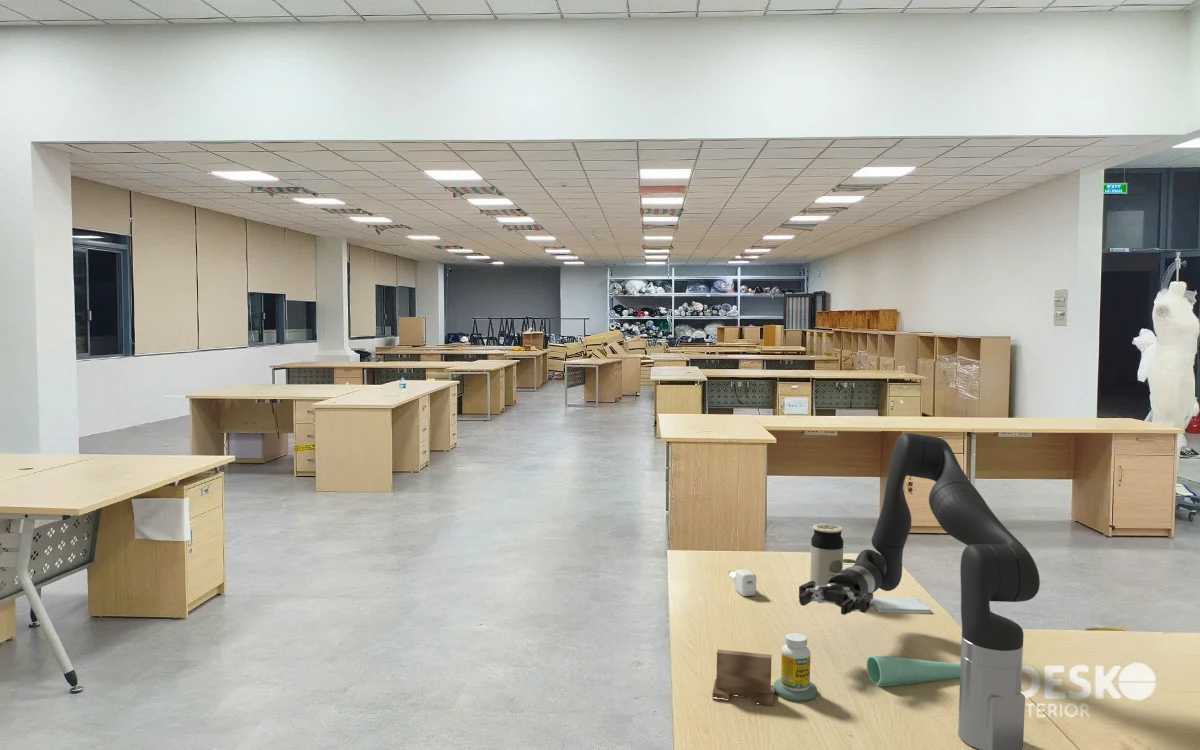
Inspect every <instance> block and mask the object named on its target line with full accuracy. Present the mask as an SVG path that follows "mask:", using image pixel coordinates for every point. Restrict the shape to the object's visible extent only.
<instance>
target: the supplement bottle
mask: <svg viewBox="0 0 1200 750" xmlns="http://www.w3.org/2000/svg"><path fill="white" fill-rule="evenodd" d="M784 642H785V645H783V646H782V648H781V657H780V659H781V660H780V661H781V662H780V663H781V664H780V665H781V669H780V671H781V673H780V674H781V675H780V679H781V684H782V686H783V687H784V688H785V689H787V690H790V691H794V692H802V691H806V690H807V689H808V688H809V685H810V682H811V650H810V648H809V647H808V646H807V645H808V637H807V636H806V635H805V634H802V633H798V632H797V633H796V632H793V633H788V634H786V635H785V640H784Z"/></svg>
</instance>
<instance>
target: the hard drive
mask: <svg viewBox="0 0 1200 750" xmlns="http://www.w3.org/2000/svg"><path fill="white" fill-rule="evenodd" d="M873 607H874V608H875V609H876V610H877V612H879V613H896V612H902V613H903V614H924V613H932V612H931V610H932V609H930V606H928V605H927V604H926V603H925V602H924V601H923V600H922V599H921V598H906V597H905V598H903V597H876V596H875V597H874V596H873ZM904 612H905V613H904ZM902 613H901V614H902Z"/></svg>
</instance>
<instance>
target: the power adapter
mask: <svg viewBox="0 0 1200 750" xmlns="http://www.w3.org/2000/svg"><path fill="white" fill-rule="evenodd" d="M727 572H728V574H729V577H730V579H732V580H733V581H734V582H735V583H734V588H735V591H736V592H737V593H739V595H741V596H742V597H752V596H753V597H754V596H756V594H757V575H756V574H755V573H754V571H752V570H751V569H749V568H739V569H736V570H735V571H731V570H728V571H727Z"/></svg>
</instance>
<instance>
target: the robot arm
mask: <svg viewBox="0 0 1200 750" xmlns="http://www.w3.org/2000/svg"><path fill="white" fill-rule="evenodd" d="M907 477H914V478H920V479H927V480H931V481H933V482H935V483H934V485H933V486H932V488H931V490H930V492H929V494H928V495H929V496H928V505H929V509H930V511H931V512H932V514H933V516H934V518H935V519H936V521H937V522H938V524H939V526H940V527H941V529H943V531H944V532H945V533H946V534H948V535H949V536H951V537H952V538H954V539H955V540H957V541H959V542H961V543H963V544H964V545H966V547H965V548H964V549H963V552H962V555H961V557H960V571H959V572H960V617H961V641H960V643H961V645H960V646H961V647H960V664H961V666H960V678H959V696H958V697H959V698H958V699H959V700H958V723H957V724H958V726H957V729H958V731H957V732H958V736H959V738H960V740H961V741H963V742H964V743H966V744H967V745H969V746H970V747H973V748H974V749H978V750H1022V749H1023V750H1024V732H1025V712H1026V711H1025V710H1026V709H1025V708H1026V707H1025V706H1026V696H1025V694H1024V693H1022V677H1023V676H1022V675H1023V655H1024V654H1023V653H1024V652H1023V651H1024V630H1023V627H1022V626H1021V625H1019V624H1018V623H1017V622H1016V621H1014V620H1011V619H1009V618H1007V617H1005V616H1002V615H1000V614H997V613H995V612H992V611H991V606H990V602H1004V603H1017V602H1018V603H1019V602H1021V603H1022V602H1026V601H1030V600H1032V599H1033V598H1035V596H1037V594H1038V593H1039V589H1040V584H1041V580H1040V572H1039V570H1038V567H1037V564H1036V562H1035V560H1034V558H1033V556H1032V555H1031V553H1030V551H1028V549H1027V548H1026V547H1025V546H1024V545H1023V544H1022V543H1021V542H1020V541H1019V539H1017V537H1015V536H1014V535H1013V534H1012V532H1010V531H1009V530H1008V529H1007V527H1005V526H1004V524H1003V523H1002V522H1001V521H1000V520H999V519H998V517H997V516H996V514H995V513H994V512H993V510H992V509H991V508H990V507H989V505H988V503H986V501H985V499H984V498H983V496H982V495H981V494H980V492H979V490H977V489H976V487H975V486H974V485H973V484H972V482H971V481H970V479H969V477H968V476H967V475H966V473H965V472H964V471H963V468H962V467H961V465H960V463H959V461H958V460H957V457H956V455H955V453H954V451H953V449H952V447H951V446H950V445H949V443H948V442H947V441H946V440H945V439H943V438H940V437H936V436H933V435H931V436H930V435H926V434H920V433H919V434H918V433H911V432H903V433H902V434H900V435H899V436H898V437H897V439H896V441H895V444H894V446H893V449H892V454H891V457H890V462H889V468H888V473H887V477H886V483H885V490H884V497H883V502H882V505H881V506H882V507H881V511H880V513H879V517H878V518H877V519H878V520H877V522H876V525H875V528H874V530H873V534H872V537H871V545H872V547H873V548H874V549H875V550H873V549H869V548H868V549H864V550H861V552H860V553H858V555H857V557H856V559H855V562H854V565H852V566H848V567H846V568H843V570H842V571H841V572H839V573H837V574H835V575H834V576H832V577H831V579H830V580H829V582H828V583H827V584H826V585H817V586H816V585H815V582H814V581H810V580H809V581H808V582H806V583H804V584H801V585H800V586H799V587H798V601H799V602H798V603H800V606H806V605H808V604H809V603H812V602H817V603H818V604H826V603H829V604H835V605H836V606H837V607H839V608H840V614H841V615H843V616H845V615H847V614H850V613H852V612H857V610H858V611H859V612H861V613H863V614H864V613H865V614H866V613H867V612H868V611H869V610H870V609H871V608H872V607H874V605H873V597H874V593H875V592H876V591H878V589H880V590H882V591H885V592H890V591H893V590H895V589H896V588H897V587H899V585H900V582H901V580H902V575H903V553H904V548H905V545H906V543H907V541H908V537H909V534H910V531H911V528H912V514H911V512H910V511H911V510H910V508H909V504H908V502H907V499H906V496H905V491H904V484H905V480H906V478H907ZM812 595H815V597H814V596H812ZM821 595H822V596H823V598H824V599H821Z"/></svg>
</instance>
